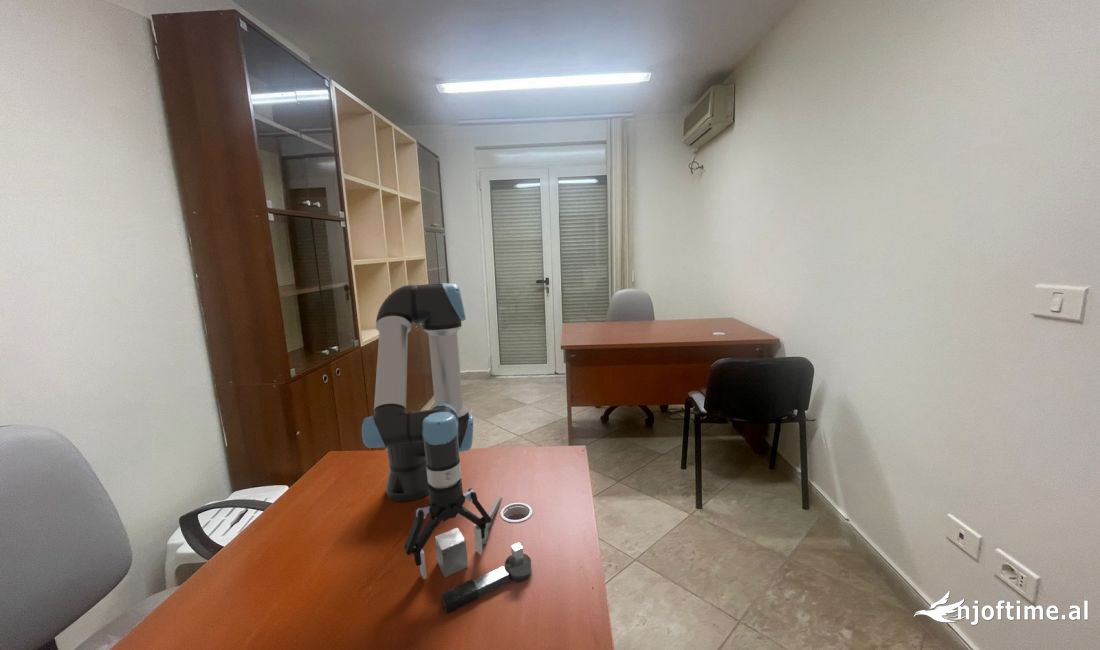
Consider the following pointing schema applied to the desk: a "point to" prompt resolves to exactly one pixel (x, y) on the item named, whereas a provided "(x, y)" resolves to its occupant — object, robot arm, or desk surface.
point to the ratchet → (489, 580)
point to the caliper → (491, 515)
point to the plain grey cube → (451, 552)
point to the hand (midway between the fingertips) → (452, 562)
